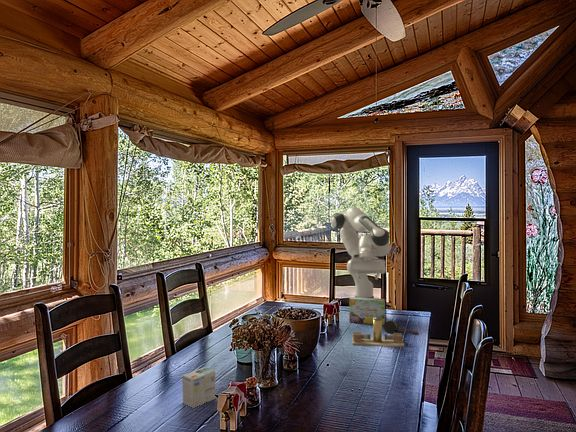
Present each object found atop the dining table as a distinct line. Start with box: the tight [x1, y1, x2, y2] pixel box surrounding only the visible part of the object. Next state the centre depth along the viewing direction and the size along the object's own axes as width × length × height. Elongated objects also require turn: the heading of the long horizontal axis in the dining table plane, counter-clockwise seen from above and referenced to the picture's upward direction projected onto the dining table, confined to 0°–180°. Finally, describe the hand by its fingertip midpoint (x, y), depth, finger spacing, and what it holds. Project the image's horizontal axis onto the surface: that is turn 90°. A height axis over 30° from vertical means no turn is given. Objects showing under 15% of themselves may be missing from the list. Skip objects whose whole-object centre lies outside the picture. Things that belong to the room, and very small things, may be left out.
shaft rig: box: [351, 331, 405, 347], centre depth 226 cm, size 10×26×5 cm, turn 83°
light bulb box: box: [181, 366, 217, 409], centre depth 159 cm, size 11×7×11 cm, turn 141°
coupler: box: [372, 317, 383, 342], centre depth 226 cm, size 5×5×12 cm
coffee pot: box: [383, 319, 420, 336], centre depth 242 cm, size 8×18×8 cm
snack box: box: [348, 296, 386, 326], centre depth 265 cm, size 21×6×15 cm, turn 73°
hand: (367, 278), depth 239 cm, fingers open, 8 cm apart
